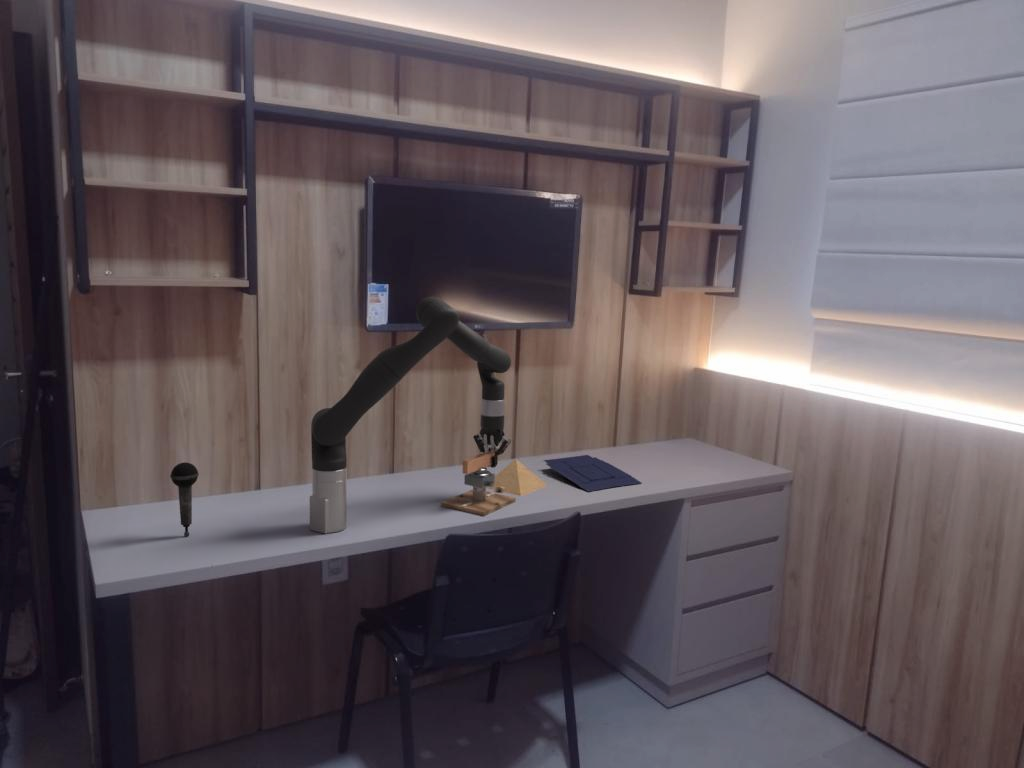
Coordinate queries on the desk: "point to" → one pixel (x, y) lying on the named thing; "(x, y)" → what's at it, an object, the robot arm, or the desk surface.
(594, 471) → the dark blue flat panel
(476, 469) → the lever handle
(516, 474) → the model pyramid
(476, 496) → the post base
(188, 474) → the microphone
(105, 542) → the desk surface
